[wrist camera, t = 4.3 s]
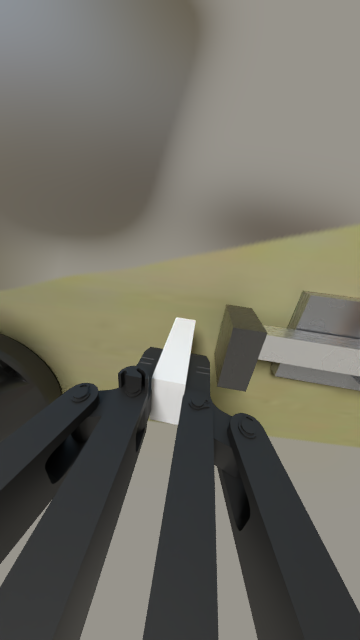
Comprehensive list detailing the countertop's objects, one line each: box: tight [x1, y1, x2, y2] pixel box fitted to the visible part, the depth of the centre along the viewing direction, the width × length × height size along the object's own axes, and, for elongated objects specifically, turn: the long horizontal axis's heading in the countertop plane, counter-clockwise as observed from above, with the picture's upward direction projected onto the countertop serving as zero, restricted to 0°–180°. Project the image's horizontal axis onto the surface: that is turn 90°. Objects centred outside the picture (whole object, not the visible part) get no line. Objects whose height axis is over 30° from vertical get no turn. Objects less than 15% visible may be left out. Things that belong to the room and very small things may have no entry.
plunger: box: [215, 305, 360, 392], centre depth 12 cm, size 13×7×4 cm, turn 84°
